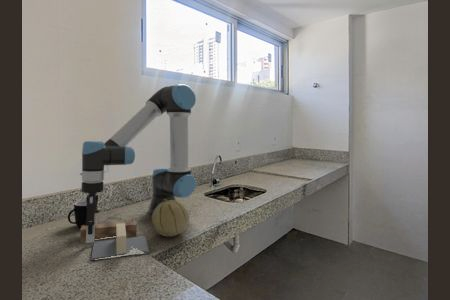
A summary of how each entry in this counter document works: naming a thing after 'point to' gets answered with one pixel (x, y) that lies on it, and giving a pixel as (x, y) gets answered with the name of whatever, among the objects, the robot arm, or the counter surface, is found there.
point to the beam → (109, 230)
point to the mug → (79, 213)
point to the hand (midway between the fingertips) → (91, 235)
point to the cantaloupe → (170, 218)
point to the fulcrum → (119, 244)
